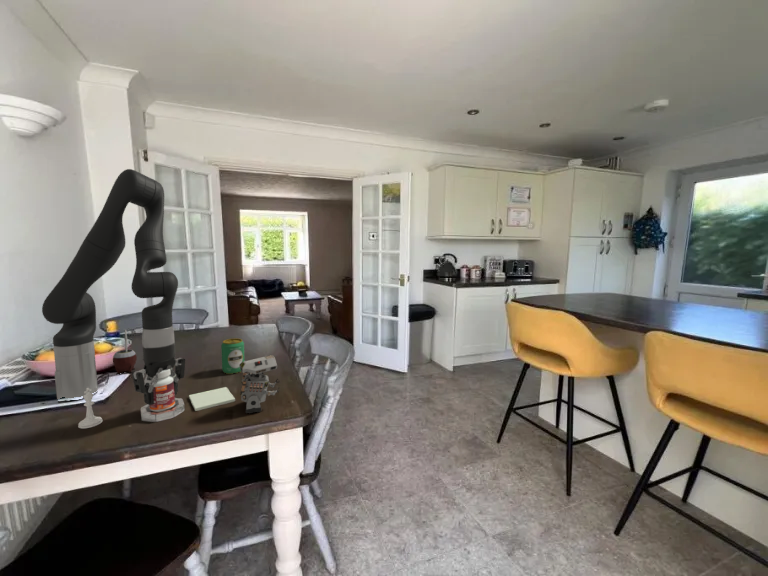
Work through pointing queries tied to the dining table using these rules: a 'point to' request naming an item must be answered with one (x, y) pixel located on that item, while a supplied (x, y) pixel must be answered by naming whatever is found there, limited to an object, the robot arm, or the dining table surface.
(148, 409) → the steel collar
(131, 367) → the mate gourd
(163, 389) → the pill bottle
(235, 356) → the beverage can
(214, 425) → the dining table surface
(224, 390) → the sage pad
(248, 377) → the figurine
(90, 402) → the chess piece
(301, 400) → the dining table surface
